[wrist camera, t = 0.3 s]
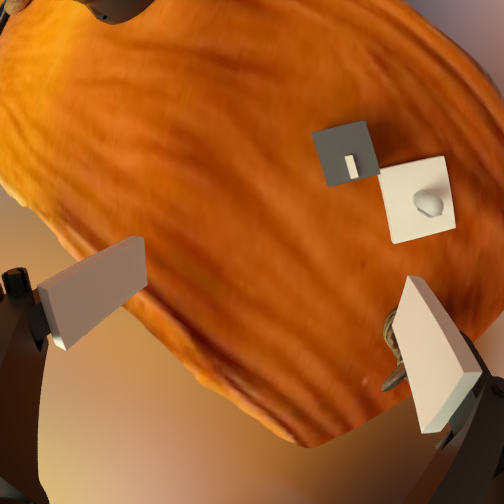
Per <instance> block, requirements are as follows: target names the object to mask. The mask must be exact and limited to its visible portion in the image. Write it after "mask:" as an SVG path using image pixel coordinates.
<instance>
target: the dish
mask: <svg viewBox="0 0 504 504" xmlns="http://www.w3.org/2000/svg"><path fill="white" fill-rule="evenodd" d="M6 1H7V0H4V1H3V3H2V4H1V6H0V33H1V31H2V29H3V27H4V25H5V23H6V20H7V18H8V16H9V14H8V13H7V12H6V11H5V8H4V7H5V3H6Z"/></svg>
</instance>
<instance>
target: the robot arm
mask: <svg viewBox="0 0 504 504" xmlns="http://www.w3.org/2000/svg"><path fill="white" fill-rule="evenodd" d="M74 1H77V2H80V3H82V4H84V5H85V6H86V7H87V8H88V9H89V10H90V11H91V12H92V14H93V15H94V16H95V17H96V18H97V19H98V20H100V21H102V22H104V23H107V24H110V25H114V24H119V23H123V22H125V21H127V20H129V19H131V18H133V17H134V16H136V15H137V14H139V13H140V12H142V11H143V10H144V9H145V8H146V7H147V6H148V5H149V4H150V3H151V2H152V1H153V0H74ZM2 279H3V283H4V287H5V290H6V294H4V292H3V288H2V285H1V283H0V504H49V500H48V497H47V495H46V492H45V491H44V489H43V487H42V486H41V484H40V481H39V477H38V453H37V452H38V450H37V449H38V448H37V447H38V446H37V445H38V442H37V441H38V418H39V405H40V395H41V386H42V379H43V372H44V366H45V360H46V355H47V350H48V345H49V344H48V339H47V335H48V334H50V333H51V334H52V337H53V339H54V342H55V345H57V346H59V347H61V348H62V349H64V350H68V349H69V348H70V347H71V346H72V345H74V344H75V343H76V342H77V341H78V340H80V339H81V338H82V337H83V336H84V335H86V334H87V333H88V332H89V331H90V330H92V329H93V328H94V327H95V326H96V325H98V324H99V323H100V322H101V321H103V320H104V319H105V318H106V317H107V316H109V315H110V314H111V313H112V312H114V311H115V310H116V309H117V308H119V306H121V305H122V304H124V303H125V302H126V301H127V300H129V299H130V298H131V297H132V296H134V295H135V294H136V293H137V292H139V291H140V290H141V289H143V288H144V287H145V286H146V285H148V283H147V273H146V261H145V247H144V237H139V236H131V237H129V238H127V239H124V240H122V241H120V242H118V243H116V244H114V245H112V246H110V247H108V248H106V249H104V250H102V251H100V252H98V253H96V254H94V255H92V256H90V257H88V258H86V259H84V260H82V261H80V262H78V263H76V264H75V265H73V266H71V267H69V268H67V269H65V270H63V271H61V272H60V273H58V274H56V275H54V276H52V277H51V278H49V279H47V280H45V281H43V282H42V283H40V284H38V285H37V288H36V289H35V290H33V291H32V288H31V285H30V281H29V276H28V272H27V270H26V268H23V267H20V268H14V269H11V270H8V271H6V272H5V273H3V274H2ZM392 328H393V331H394V334H395V337H396V340H397V343H398V346H399V349H400V352H401V355H402V358H403V362H404V365H405V368H406V372H407V375H408V379H409V383H410V386H411V390H412V394H413V398H414V402H415V406H416V410H417V414H418V419H419V424H420V428H421V433H432V432H440V431H441V430H442V428H443V427H444V426H445V425H446V424H447V422H448V421H449V422H450V425H451V430H450V431H449V432H448V434H447V435H446V436H445V437H444V438H443V439H442V440H441V441H440V442H439V444H438V445H437V446H436V447H435V448H436V449H437V448H438V447H439V446H440V447H439V448H438V450H437V452H436V453H435V455H434V456H433V458H432V460H431V461H430V463H429V464H428V466H427V467H426V469H425V470H424V472H423V473H422V475H421V476H420V478H419V479H418V480H417V482H416V483H415V485H414V486H413V487H412V489H411V490H410V491H409V493H408V494H407V495H406V496H405V498H404V499H403V500H402V501H401V503H400V504H504V379H503V378H500V377H494V376H492V375H491V373H490V372H489V370H488V368H487V366H486V365H485V363H484V361H483V359H482V358H481V356H480V355H479V353H478V351H477V349H476V348H475V346H474V344H473V343H472V341H471V340H470V338H469V337H468V336H466V335H465V334H464V333H463V332H462V331H459V330H458V329H457V327H456V326H455V324H454V323H453V321H452V320H451V318H450V316H449V315H448V313H447V312H446V311H445V309H444V308H443V306H442V305H441V303H440V302H439V300H438V299H437V298H436V296H435V295H434V293H433V292H432V291H431V289H430V288H429V286H428V285H427V284H426V282H425V281H424V280H423V278H422V277H417V276H410V275H408V276H407V280H406V283H405V287H404V290H403V293H402V297H401V300H400V303H399V306H398V309H397V312H396V315H395V318H394V321H393V324H392Z"/></svg>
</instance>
